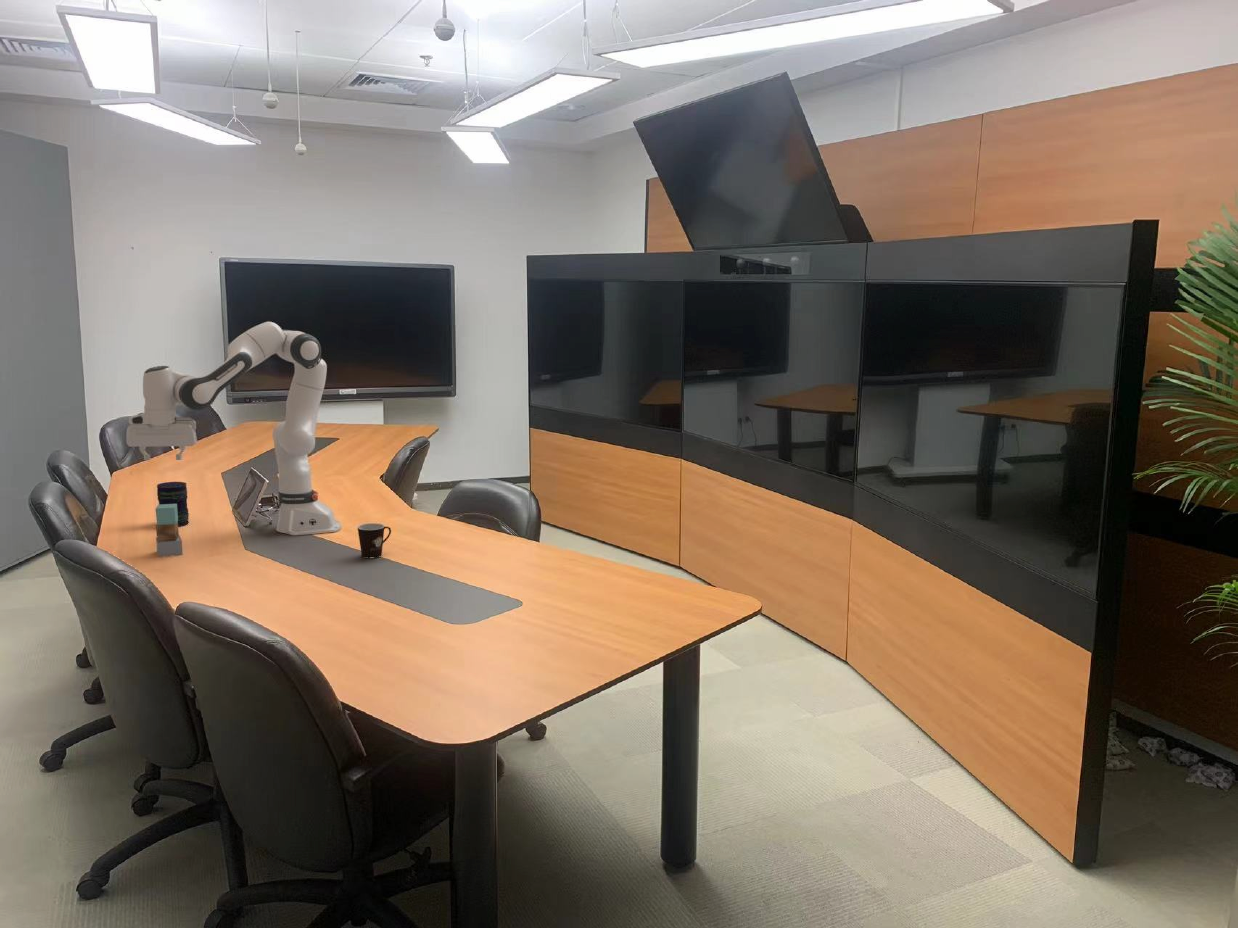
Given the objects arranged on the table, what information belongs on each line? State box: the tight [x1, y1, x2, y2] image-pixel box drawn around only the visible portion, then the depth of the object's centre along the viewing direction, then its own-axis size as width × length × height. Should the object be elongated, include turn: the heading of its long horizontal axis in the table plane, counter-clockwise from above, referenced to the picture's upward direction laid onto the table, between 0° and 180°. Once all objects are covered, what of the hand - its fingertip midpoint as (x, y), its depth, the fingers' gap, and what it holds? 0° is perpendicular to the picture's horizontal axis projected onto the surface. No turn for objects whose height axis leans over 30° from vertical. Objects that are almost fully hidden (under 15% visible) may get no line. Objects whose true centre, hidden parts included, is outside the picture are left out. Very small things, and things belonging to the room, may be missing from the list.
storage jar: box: [156, 481, 190, 528], centre depth 329 cm, size 10×10×15 cm
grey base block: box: [155, 534, 184, 558], centre depth 295 cm, size 7×7×5 cm
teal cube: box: [155, 504, 178, 525], centre depth 294 cm, size 6×6×6 cm
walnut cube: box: [155, 521, 180, 542], centre depth 294 cm, size 6×6×6 cm
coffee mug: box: [357, 522, 392, 559], centre depth 299 cm, size 12×9×10 cm
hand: (163, 459), depth 290 cm, fingers open, 8 cm apart
